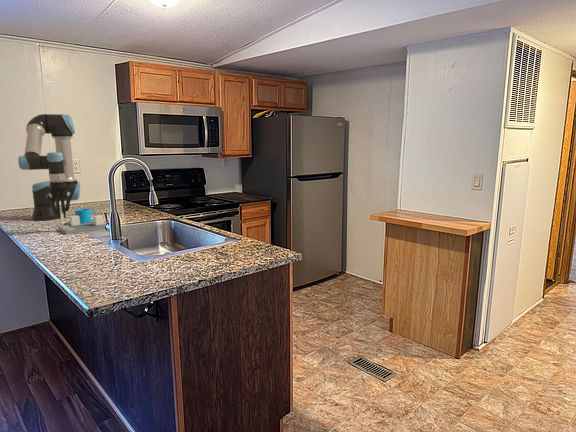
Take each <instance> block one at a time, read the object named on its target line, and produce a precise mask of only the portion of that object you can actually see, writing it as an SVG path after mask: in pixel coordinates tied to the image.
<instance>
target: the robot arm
mask: <svg viewBox="0 0 576 432" xmlns="http://www.w3.org/2000/svg"><path fill="white" fill-rule="evenodd" d="M75 131H76V130H75V126H74V122H73V117H71V115H69V114H60V113H59V114H56V113H55V114H48V113H41V114H38V115H36V116H34V117H32V118H31V119H30V120H29V121H28V122H27V124H26V127H25V132H26V133H27V134H26V140H25V148H24V155H20V156H19V157H18V163H17V164H18V167H19V169H20V170H23V171H30V170H31V171H32V170H33V171H34V170H48V177H49V180H47V181H42V182H41V181H40V182H37V183H34V184H32V186H31V188H32V189H31V190H32V191H31V193H32V199H33V206H34V207H33V211H32V215H31V217H32V221H50V220H55V219H59V224H60V226H61V225H63V226H64V225H65V218H67V216H66V215H67V214H66V212H67V211H69V210H70V205H71V202H72V201H73V202H74V201H78V200H79V199H80V194H81V182H79V181H78V179H77V178H76V177H75V172H74V171H75V170H74V161H73V153H72V152H73V151H72V142H71V139H72V138H73V136H74V135H75V133H76V132H75ZM45 134H48V135H49V134H50V135H51V138H53V139H54V146H55V152H54V151H53V152H50V151H49V152H47V153H46V155H41V153H42V143H43V137H44V135H45Z"/></svg>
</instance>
